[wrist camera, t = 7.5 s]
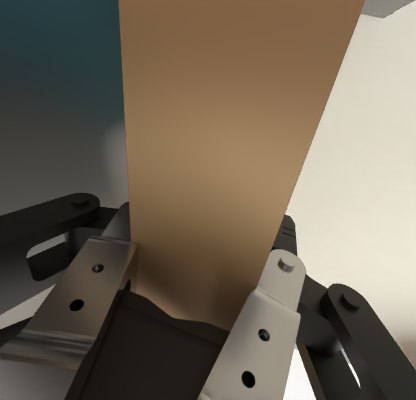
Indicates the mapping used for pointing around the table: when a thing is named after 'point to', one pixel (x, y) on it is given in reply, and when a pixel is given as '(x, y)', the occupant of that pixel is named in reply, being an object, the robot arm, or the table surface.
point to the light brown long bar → (220, 137)
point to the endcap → (383, 7)
